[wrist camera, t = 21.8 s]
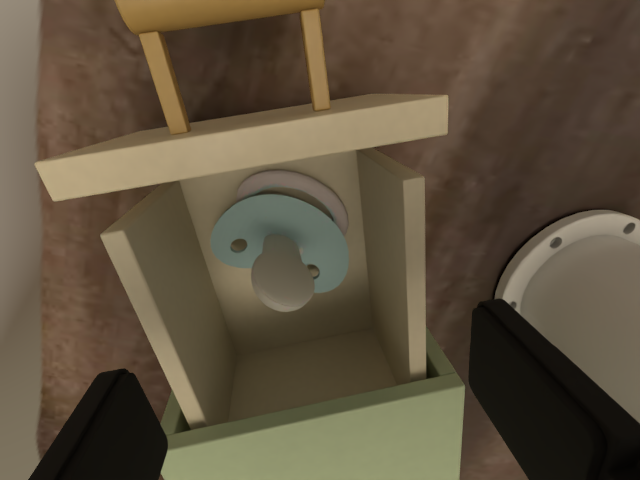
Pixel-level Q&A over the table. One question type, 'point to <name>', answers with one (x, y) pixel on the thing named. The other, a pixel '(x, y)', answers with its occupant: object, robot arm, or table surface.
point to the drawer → (235, 283)
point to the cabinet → (332, 436)
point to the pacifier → (284, 239)
